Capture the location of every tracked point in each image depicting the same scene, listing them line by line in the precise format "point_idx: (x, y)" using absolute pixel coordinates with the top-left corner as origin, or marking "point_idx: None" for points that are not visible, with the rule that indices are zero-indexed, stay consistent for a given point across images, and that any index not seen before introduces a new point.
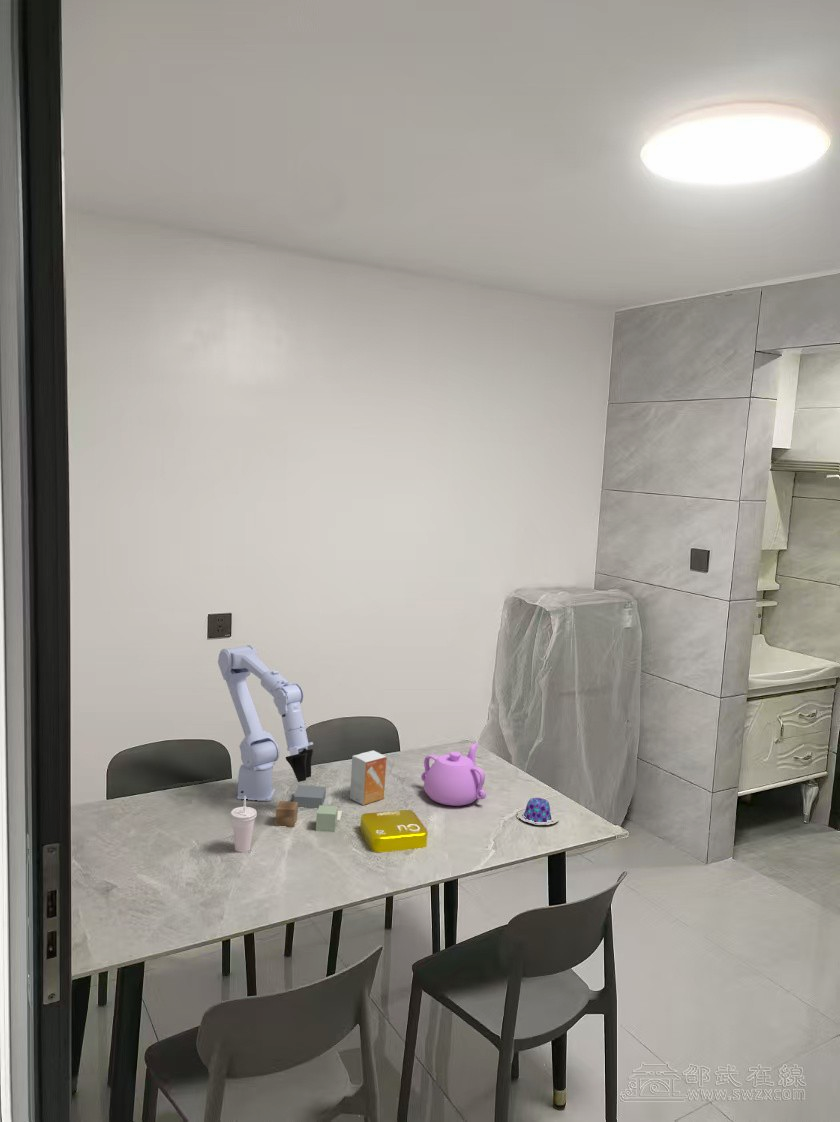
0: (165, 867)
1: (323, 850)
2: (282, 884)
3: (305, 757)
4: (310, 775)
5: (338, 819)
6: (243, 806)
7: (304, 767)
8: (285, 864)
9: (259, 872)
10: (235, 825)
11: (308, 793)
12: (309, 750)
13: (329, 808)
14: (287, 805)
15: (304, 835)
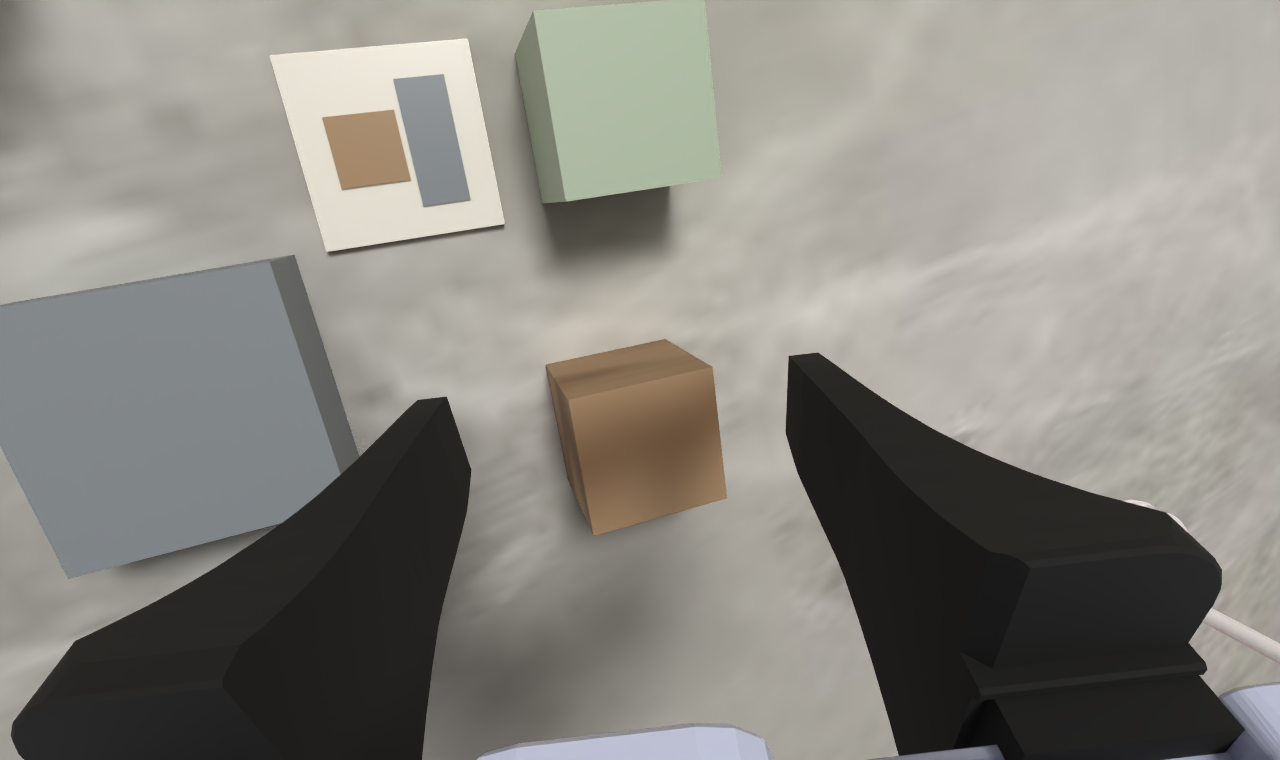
0: None
1: (898, 57)
2: (1194, 175)
3: (1101, 505)
4: (440, 405)
5: (456, 52)
6: None
7: (936, 432)
8: (1049, 225)
9: (1113, 315)
10: None
11: (223, 418)
12: (255, 712)
13: (603, 86)
14: (655, 448)
15: (747, 237)
